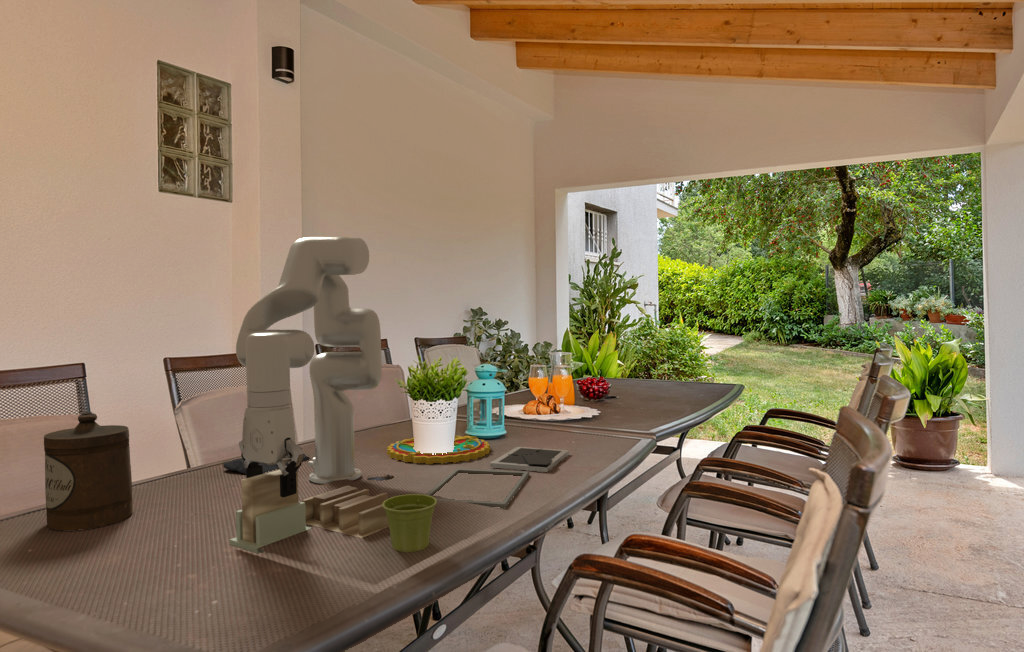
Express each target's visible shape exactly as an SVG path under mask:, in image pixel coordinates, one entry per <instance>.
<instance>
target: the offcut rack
mask: <svg viewBox="0 0 1024 652" xmlns="http://www.w3.org/2000/svg"><path fill="white" fill-rule="evenodd" d="M346 486H347V485H344V486H342V487H340V488H343V487H346ZM340 488H336V489H332V490H330V491H333V490H337V489H340ZM330 491H327V492H330ZM327 492H324V493H327ZM324 493H323V492H322V493H321V494H324ZM321 494H317V495H313V496H310V497H307V498H304V499H301V502H305V517H306V525H307V526H308V525H309V526H314V527H316V528H321V529H324V530H328V531H332V532H336V533H340V534H344V535H348V536H351V537H355V538H359V539H363V538H365V537H367V536H370V535H372V534H375V533H377V532H380V531H382V530H384V529H387V528H389V523H388V517H387V515H386V512H385V509H384V508H383V506H382V504H383V502H384V501H385V500H387V499H388V493H387V492H382V493H379V494H376V495H373V496H371V497H370V498H367V499H364V500H362V501H359V502H356V503H353V504H350V505H347V506H344V507H342V508H339V524H335V523H334V505H336V504H339V503H342V502H345V501H348V500H351V499H354V498H357V497H359V496H362V495H366V496H370V490H369V489H367V488H365V489H362V490H358V492H355V493H352V494H349V495H346V496H343V497H340V498H337V499H334V500H331V501H328V502H325V503H322V504H320V521H318V520H314V502H313V497H314V496H318V495H321Z"/></svg>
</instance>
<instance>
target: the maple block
mask: <svg viewBox="0 0 1024 652" xmlns="http://www.w3.org/2000/svg"><path fill="white" fill-rule="evenodd" d="M280 475H283V474H282V472H281V470H280V469H278V470H275V471H271V472H268V473H265V474H261V475H258V476H254V477H250V478H246V477H245V478H243V479H241V480H240V481H241V510H242V524H243V540H244V541H247V542H251V543H256V516H259V515H262V514H265V513H268V512H271V511H274V510H278V509H281V508H284V507H287V506H290V505H293V504H296V503H300V501H299V471H298V472H297V473H296V482H297V492H296V494H293V495H290V496H287V497H281V496H280Z"/></svg>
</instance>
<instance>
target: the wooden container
mask: <svg viewBox="0 0 1024 652" xmlns="http://www.w3.org/2000/svg"><path fill="white" fill-rule="evenodd" d="M97 419H98V416H97V414H96V413H93V412H92V411H85V412H81V414H79V415H78V416H77V422H78V424H77V425H76V426H75V427H73V428H66V429H61V430H57V431H52V432H49V433H46V434H44V436H43V449H44V473H45V475H44V485H45V487H44V490H45V492H44V493H45V507H46V509H45V510H46V527H47V528H48V527H49V528H48V529H50V528H51V529H50V530H53V529H55V530H54V531H59V530H76V531H80V530H79V529H85V530H90V529H89V528H92V529H96V528H95V527H97V528H101V527H100V526H102V527H106V526H109V524H110V525H112V523H113V524H116V523H119V522H121V521H123V519H124V520H125V519H127V518H128V517H130V516H131V515H133V511H134V510H133V509H134V507H133V505H134V503H133V479H132V477H133V476H132V466H131V451H130V449H131V448H130V430H129V427H128V426H126V425H118V424H116V425H115V424H113V425H112V424H111V425H109V424H108V425H100V424H99V423H97V422H96V421H97ZM118 521H119V522H118ZM115 522H116V523H115ZM105 525H106V526H105Z"/></svg>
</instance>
